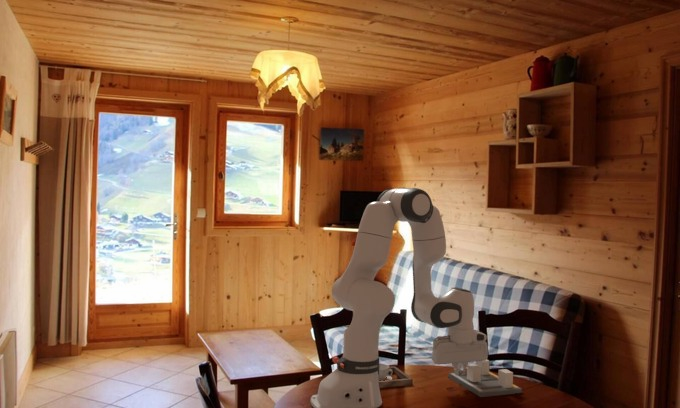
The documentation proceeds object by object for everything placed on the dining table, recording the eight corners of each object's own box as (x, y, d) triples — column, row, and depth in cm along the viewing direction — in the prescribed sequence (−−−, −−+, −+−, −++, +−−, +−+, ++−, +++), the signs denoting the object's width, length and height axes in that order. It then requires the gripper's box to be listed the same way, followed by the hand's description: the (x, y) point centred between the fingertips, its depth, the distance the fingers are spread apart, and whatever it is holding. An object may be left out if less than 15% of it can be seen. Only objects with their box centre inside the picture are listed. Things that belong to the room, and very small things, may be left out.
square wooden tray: (372, 388, 186) (372, 382, 186) (357, 374, 200) (357, 369, 200) (412, 384, 190) (412, 379, 190) (394, 371, 204) (395, 366, 204)
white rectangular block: (472, 382, 189) (473, 367, 189) (466, 378, 192) (467, 364, 192) (480, 381, 189) (480, 367, 189) (474, 377, 193) (474, 363, 193)
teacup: (361, 382, 193) (362, 368, 192) (367, 373, 202) (367, 361, 202) (390, 385, 190) (390, 371, 190) (394, 376, 200) (394, 363, 200)
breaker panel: (480, 397, 180) (480, 377, 180) (448, 377, 200) (448, 359, 200) (521, 392, 185) (522, 373, 185) (486, 373, 205) (486, 356, 205)
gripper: (437, 338, 183) (436, 380, 183) (490, 335, 189) (489, 375, 189) (429, 334, 189) (428, 374, 189) (480, 331, 195) (479, 369, 195)
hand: (459, 374), depth 189 cm, fingers closed
